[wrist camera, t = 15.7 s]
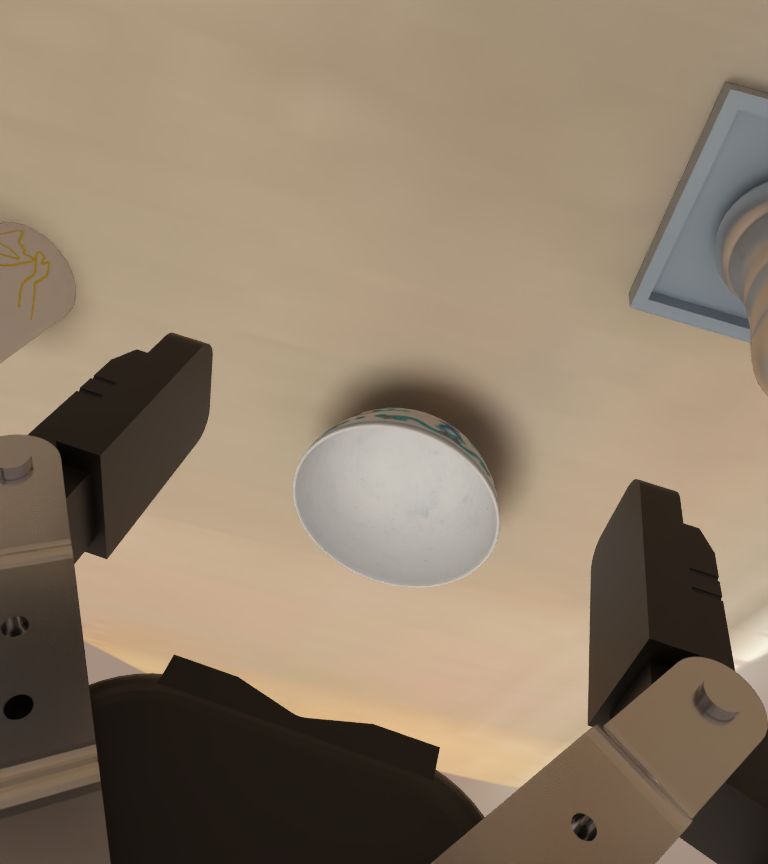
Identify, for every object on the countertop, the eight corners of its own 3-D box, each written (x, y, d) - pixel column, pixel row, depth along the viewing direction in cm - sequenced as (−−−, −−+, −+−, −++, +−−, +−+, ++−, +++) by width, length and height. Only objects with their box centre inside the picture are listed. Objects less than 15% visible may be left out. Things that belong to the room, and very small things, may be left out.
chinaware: (328, 504, 63) (299, 567, 57) (321, 354, 54) (284, 409, 48) (500, 534, 60) (488, 604, 54) (522, 380, 51) (511, 443, 45)
